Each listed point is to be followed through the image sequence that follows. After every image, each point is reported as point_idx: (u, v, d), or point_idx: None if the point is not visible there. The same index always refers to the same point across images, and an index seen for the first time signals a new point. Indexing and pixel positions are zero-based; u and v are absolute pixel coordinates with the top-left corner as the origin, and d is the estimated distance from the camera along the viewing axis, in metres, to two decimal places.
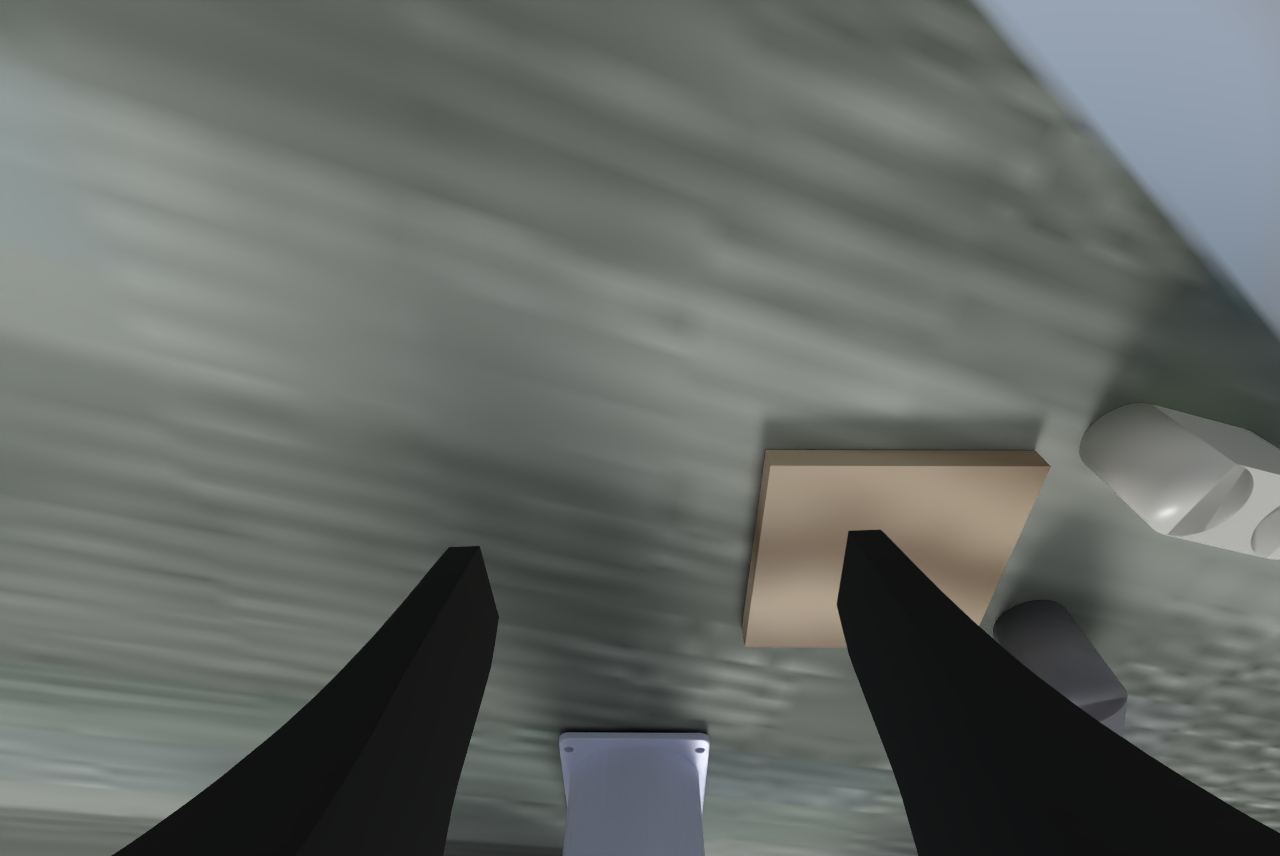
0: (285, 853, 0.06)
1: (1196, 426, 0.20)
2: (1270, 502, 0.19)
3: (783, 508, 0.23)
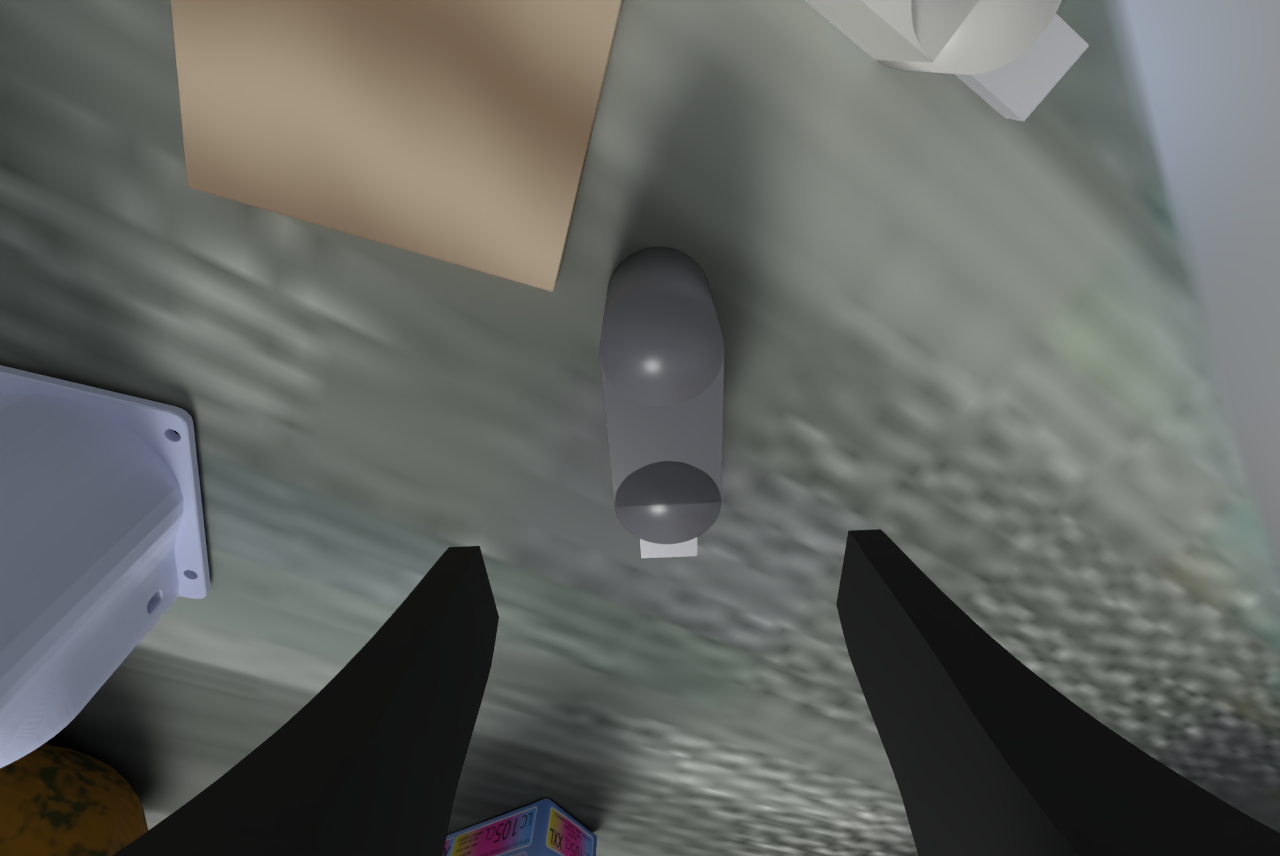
0: (285, 853, 0.06)
1: None
2: None
3: None
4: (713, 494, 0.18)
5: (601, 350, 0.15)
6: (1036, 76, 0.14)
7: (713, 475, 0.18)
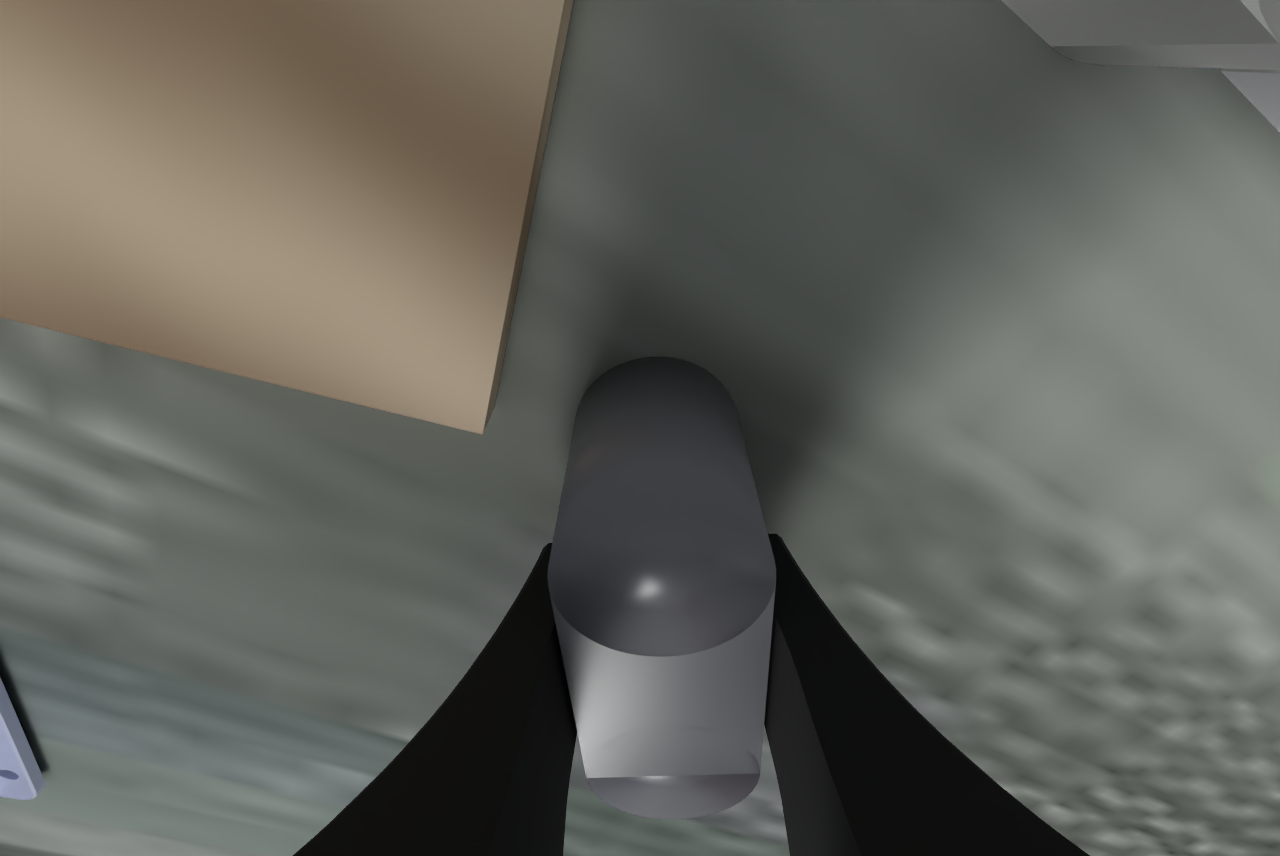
0: (476, 849, 0.06)
1: None
2: None
3: None
4: (747, 764, 0.11)
5: (550, 579, 0.08)
6: None
7: (748, 742, 0.11)
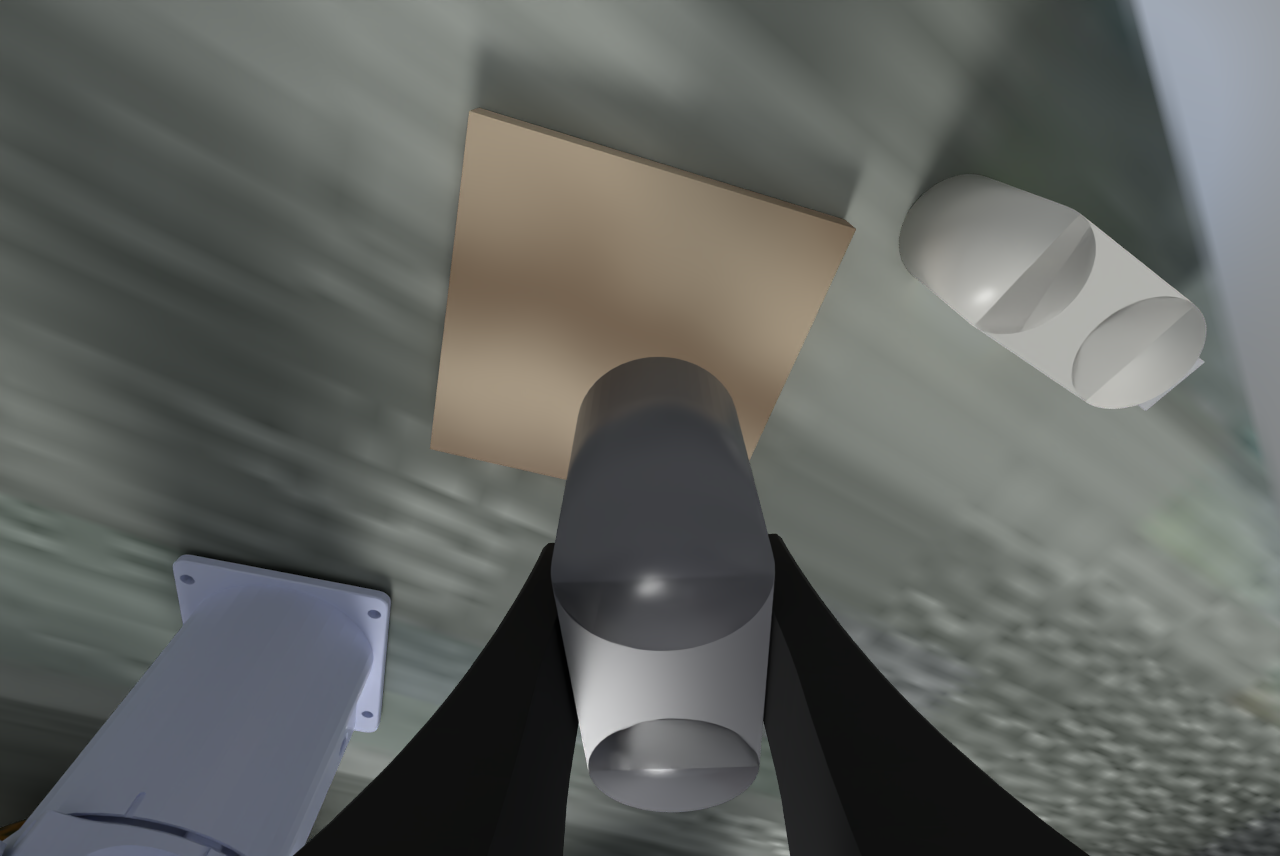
0: (475, 849, 0.06)
1: None
2: (1108, 300, 0.14)
3: (487, 204, 0.15)
4: (747, 757, 0.11)
5: (553, 575, 0.09)
6: None
7: (748, 736, 0.11)
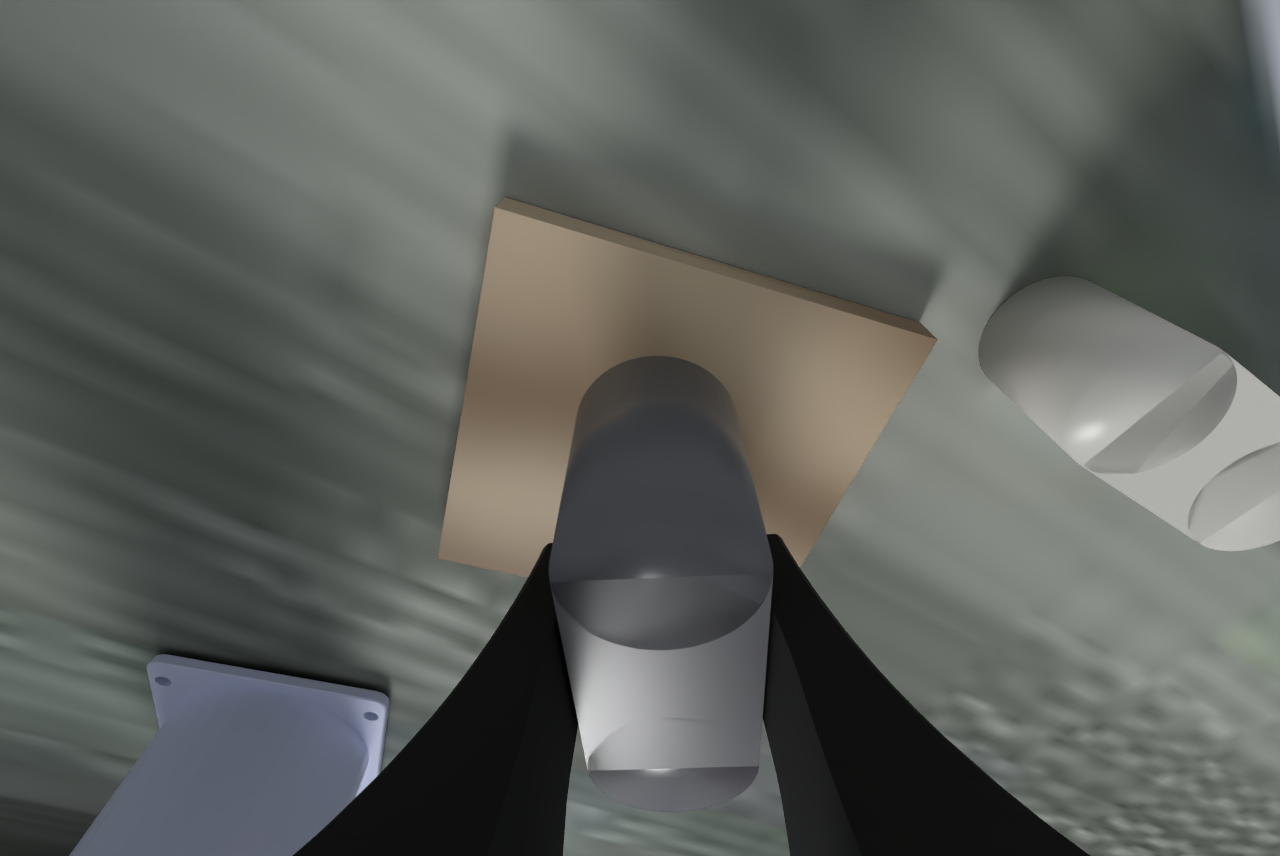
0: (475, 849, 0.06)
1: None
2: (1242, 442, 0.12)
3: (512, 307, 0.13)
4: (746, 757, 0.11)
5: (551, 575, 0.09)
6: None
7: (747, 735, 0.11)
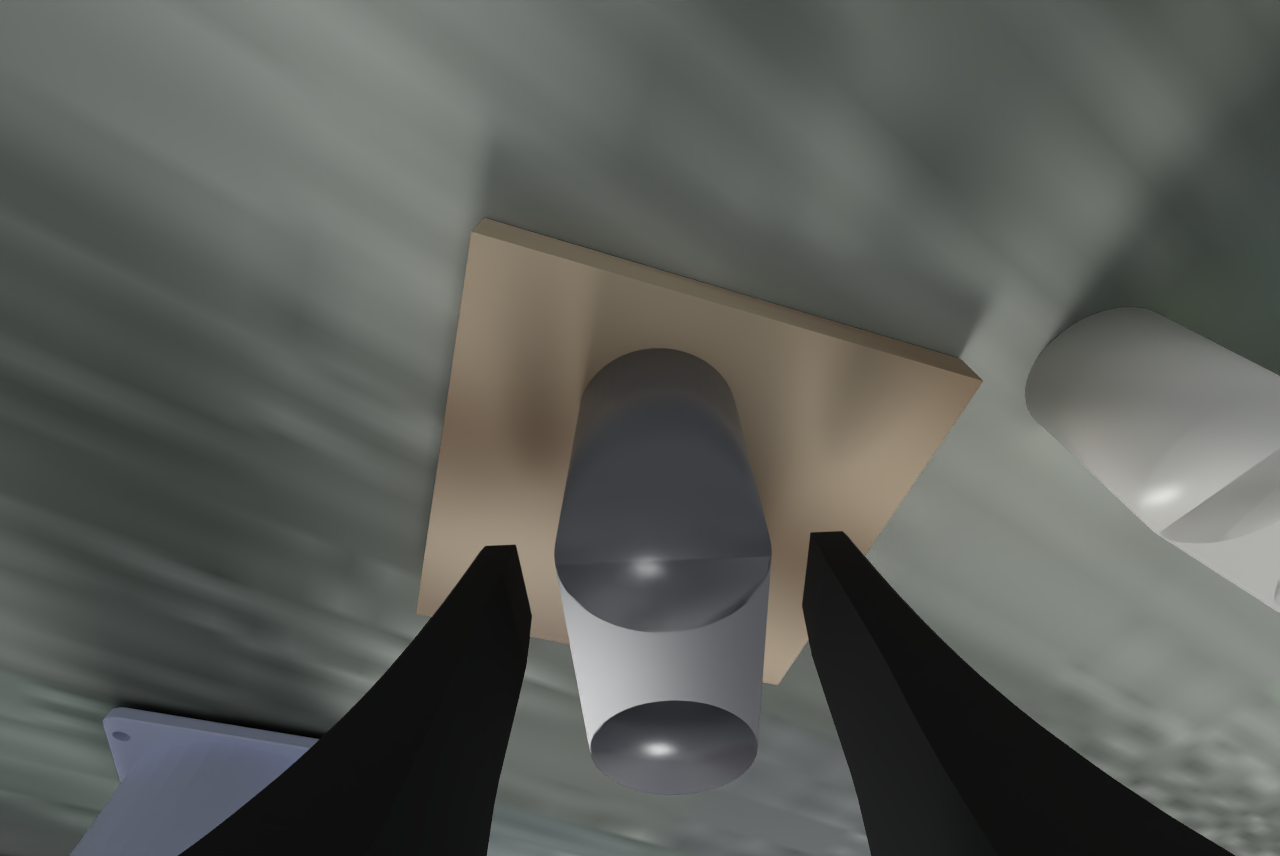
0: (354, 851, 0.06)
1: None
2: None
3: (494, 345, 0.11)
4: (745, 739, 0.11)
5: (557, 558, 0.09)
6: None
7: (746, 718, 0.11)
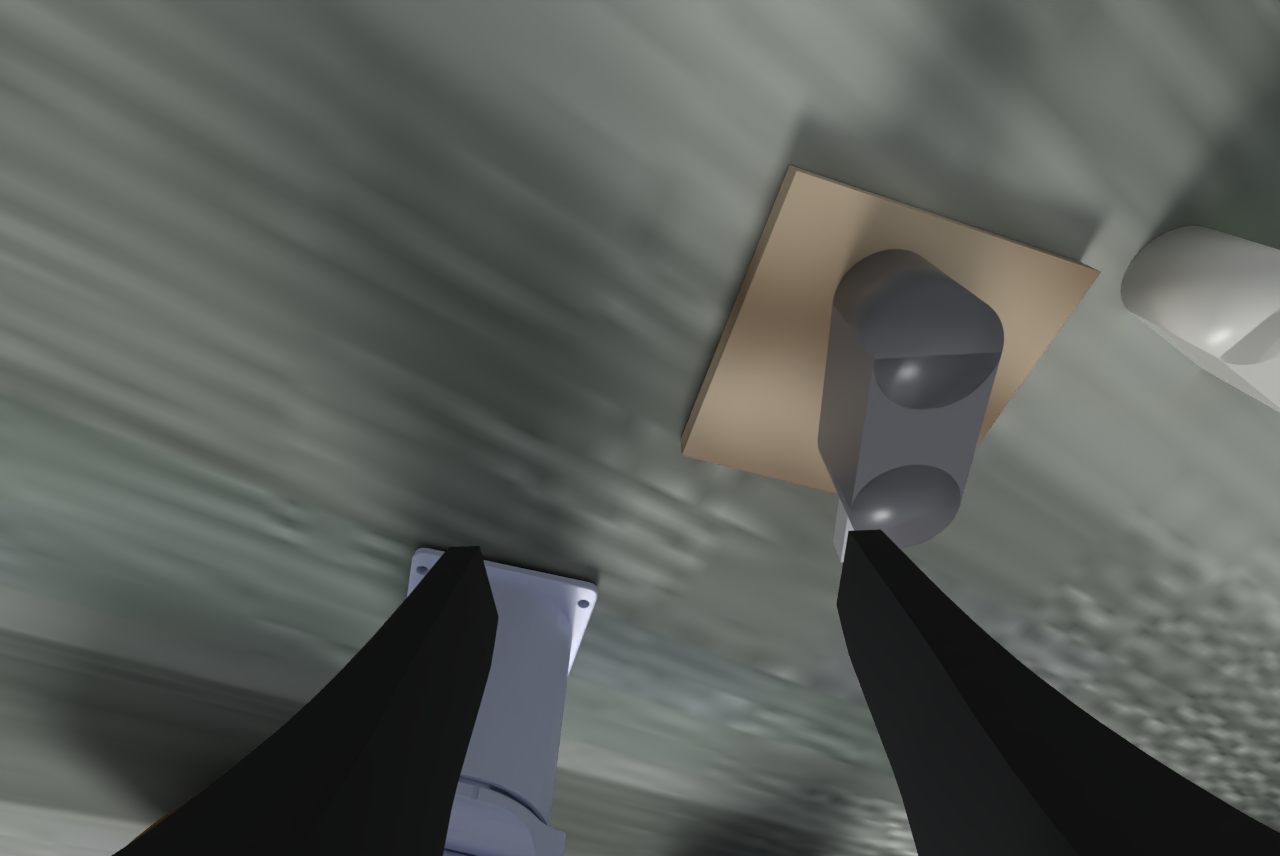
0: (285, 853, 0.06)
1: None
2: None
3: (791, 247, 0.18)
4: (953, 498, 0.18)
5: (877, 353, 0.15)
6: None
7: (958, 478, 0.17)
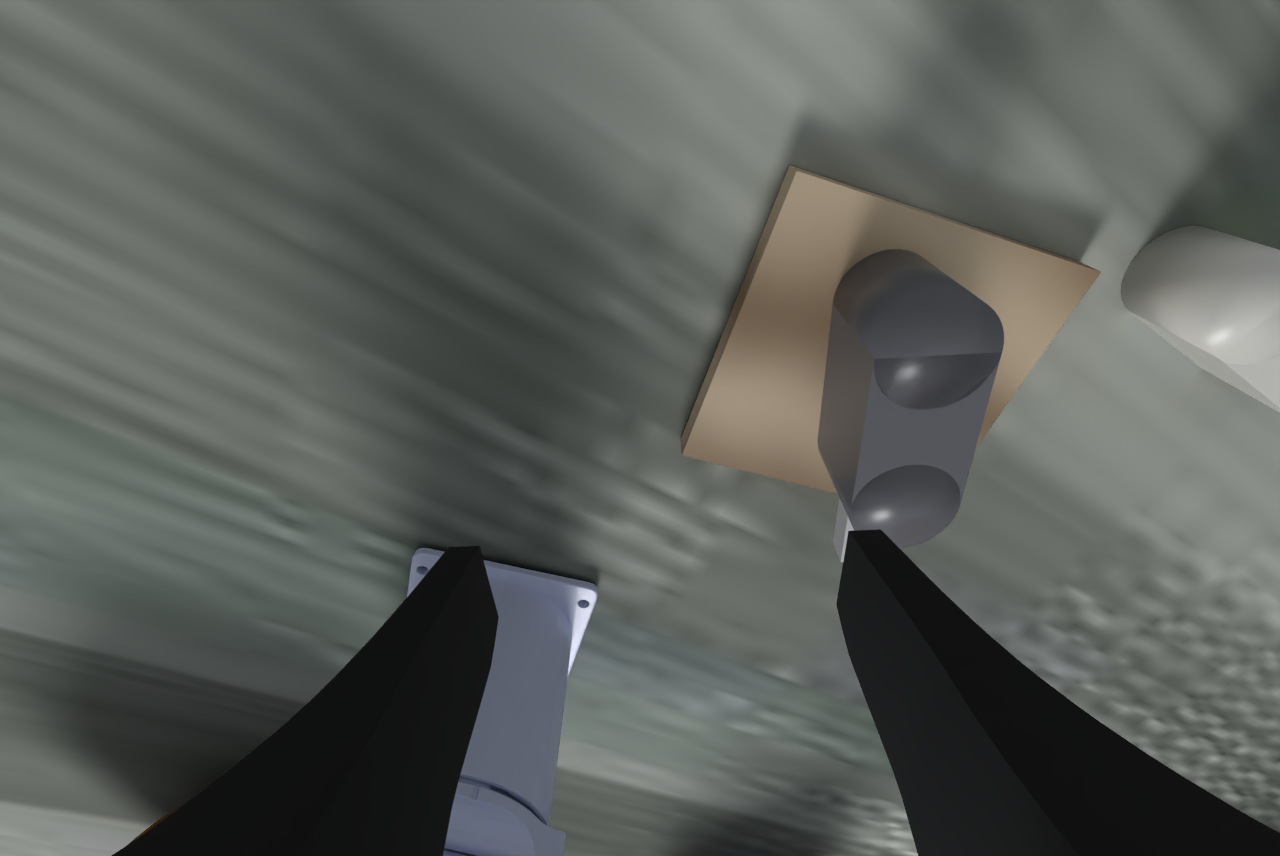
0: (285, 853, 0.06)
1: None
2: None
3: (791, 247, 0.18)
4: (953, 498, 0.18)
5: (877, 353, 0.15)
6: None
7: (958, 478, 0.17)
